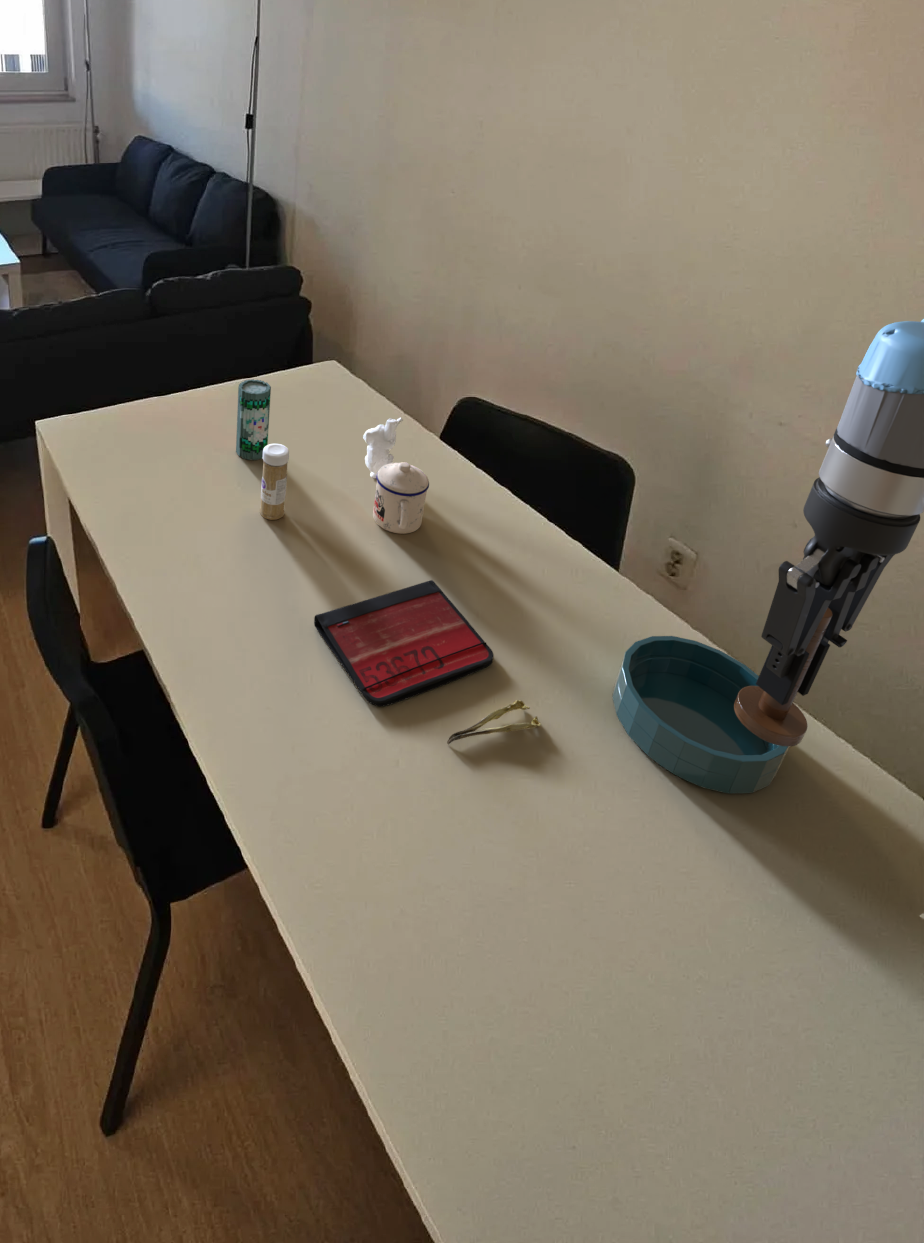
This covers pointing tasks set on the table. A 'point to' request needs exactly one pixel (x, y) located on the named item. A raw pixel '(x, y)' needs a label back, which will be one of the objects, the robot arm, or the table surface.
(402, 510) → the teacup with lid
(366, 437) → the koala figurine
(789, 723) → the plunger
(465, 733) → the jaw bone
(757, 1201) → the table surface
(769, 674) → the robot arm
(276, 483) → the sprinkles bottle
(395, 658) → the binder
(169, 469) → the table surface
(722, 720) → the bowl
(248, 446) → the can
